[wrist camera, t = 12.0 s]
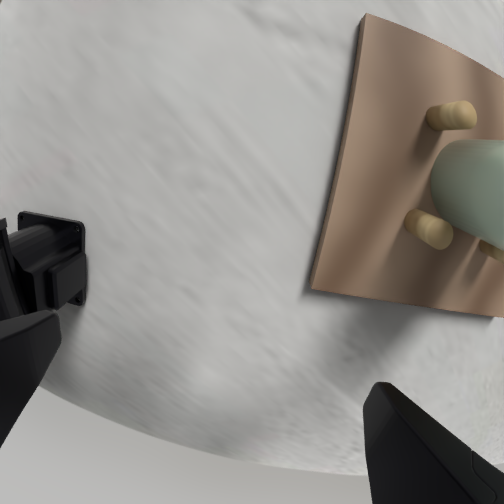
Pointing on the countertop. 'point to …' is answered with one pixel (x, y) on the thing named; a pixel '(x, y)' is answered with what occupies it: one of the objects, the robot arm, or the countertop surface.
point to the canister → (471, 187)
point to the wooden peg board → (408, 177)
